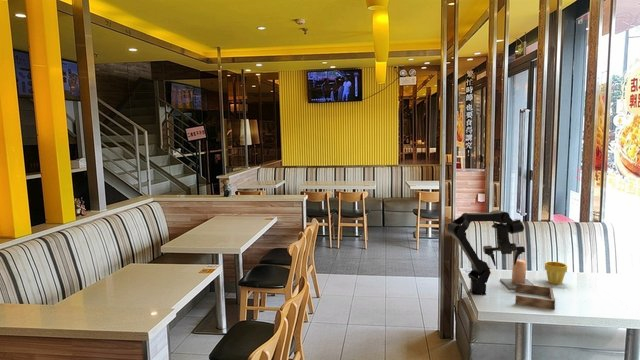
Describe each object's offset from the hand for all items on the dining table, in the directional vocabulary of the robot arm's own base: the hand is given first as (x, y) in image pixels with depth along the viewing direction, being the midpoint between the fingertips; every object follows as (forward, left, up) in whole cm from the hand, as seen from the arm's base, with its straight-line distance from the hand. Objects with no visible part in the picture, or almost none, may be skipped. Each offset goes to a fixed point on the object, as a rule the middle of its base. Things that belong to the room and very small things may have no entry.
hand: (504, 265), depth 216 cm
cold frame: (+10, -12, -13) cm, 20 cm away
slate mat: (+10, +8, -13) cm, 18 cm away
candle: (+10, +8, -12) cm, 17 cm away
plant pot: (+31, +14, -13) cm, 36 cm away
